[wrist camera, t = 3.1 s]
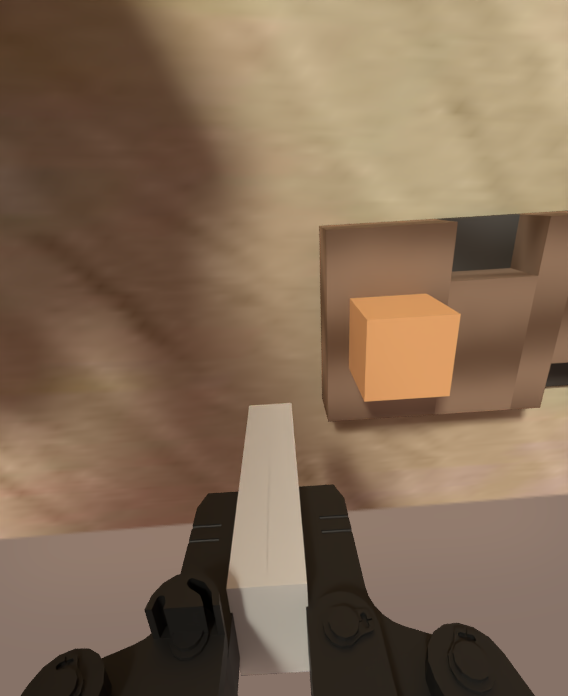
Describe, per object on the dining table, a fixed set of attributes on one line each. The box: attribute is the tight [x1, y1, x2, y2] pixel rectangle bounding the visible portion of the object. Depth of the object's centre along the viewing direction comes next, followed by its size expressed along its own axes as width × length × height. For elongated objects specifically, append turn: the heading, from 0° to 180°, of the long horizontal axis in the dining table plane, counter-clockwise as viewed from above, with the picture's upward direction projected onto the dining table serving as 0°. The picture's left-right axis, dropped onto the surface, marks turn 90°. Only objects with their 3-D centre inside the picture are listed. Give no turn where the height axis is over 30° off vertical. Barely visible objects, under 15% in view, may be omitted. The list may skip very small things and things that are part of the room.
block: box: [349, 294, 461, 402], centre depth 20 cm, size 4×4×4 cm
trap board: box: [319, 211, 568, 422], centre depth 22 cm, size 12×26×4 cm, turn 93°
